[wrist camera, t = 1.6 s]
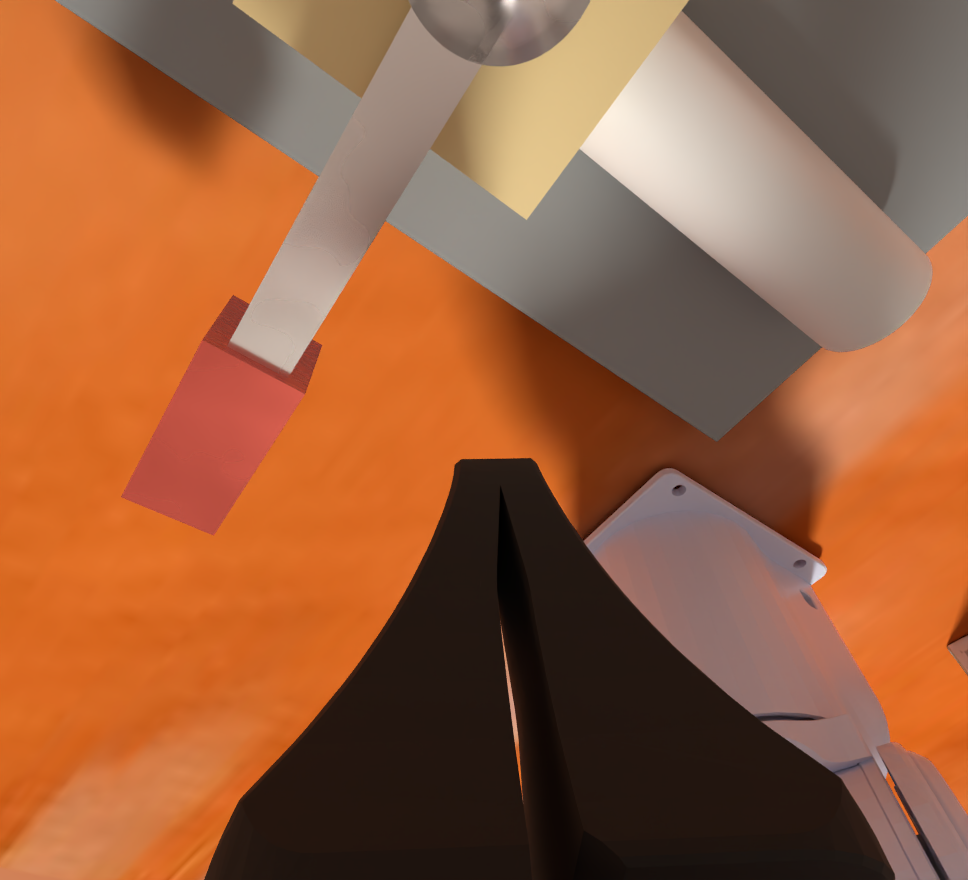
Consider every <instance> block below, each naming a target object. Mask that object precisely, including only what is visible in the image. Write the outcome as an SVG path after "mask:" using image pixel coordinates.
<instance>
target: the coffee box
mask: <svg viewBox="0 0 968 880" xmlns="http://www.w3.org/2000/svg"><path fill="white" fill-rule="evenodd" d="M947 649H948V650H949V652H950V653H951V654H952V655H953V657H954V658H955V659H956V660H957V662H958V663H959V664H960V666H961V667H962V669H963V670H964V671H965V673H966V674H967V675H968V635H967V636H965V637H963V638H961V639H959V640H957V641H955V642H953V643H952V644H950V645H948V646H947Z"/></svg>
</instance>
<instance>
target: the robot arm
mask: <svg viewBox="0 0 968 880" xmlns="http://www.w3.org/2000/svg"><path fill="white" fill-rule="evenodd" d="M678 485H682V486H681V487H680V488H678V489H673V488H674V487H676V486H678ZM826 571H827V567H826V566H825V564H824V563H823V561H822V560H820V559H819V558H817V557H816V556H814V555H812V554H811V553H809V552H808V551H806V550H804V549H803V548H801V547H800V546H798V545H796V544H795V543H793V542H792V541H790V540H788V539H787V538H785V537H783V536H782V535H780V534H779V533H777V532H775V531H774V530H772V529H771V528H769V527H767V526H766V525H764V524H763V523H761V522H759V521H758V520H756V519H755V518H753V517H751V516H750V515H748V514H747V513H745V512H743V511H742V510H740V509H739V508H737V507H735V506H734V505H732V504H731V503H729V502H727V501H726V500H724V499H722V498H721V497H719V496H718V495H716V494H714V493H713V492H711V491H710V490H708V489H706V488H705V487H703V486H702V485H700V484H698V483H697V482H695V481H694V480H692V479H690V478H689V477H687V476H686V475H684V474H682V473H681V472H679V471H678V470H676V469H673V468H666V469H663V470H661V471H659V472H658V473H656V474H655V475H654V476H653V477H652V478H651V479H650V480H649V481H648V482H647V483H646V484H644V485H643V486H642V487H641V488H640V489H639V490H638V491H637V492H636V493H635V494H634V495H633V496H631V497H630V498H629V499H628V500H627V501H626V502H625V503H624V504H623V505H622V506H621V507H620V508H619V509H617V510H616V511H615V512H614V513H613V514H612V515H611V516H610V517H609V518H608V519H607V520H606V521H604V522H603V523H602V524H601V525H600V526H599V527H598V528H597V529H596V530H595V531H594V532H593V533H591V534H590V535H589V536H588V537H587V538H586V539H585V540H584V541H583V540H582V539H581V537H580V536H579V534H578V533H577V531H576V530H575V528H574V527H573V526H572V524H571V523H570V521H569V520H568V518H567V517H566V515H565V513H564V512H563V510H562V509H561V507H560V505H559V504H558V502H557V500H556V499H555V497H554V496H553V494H552V492H551V490H550V489H549V487H548V485H547V483H546V481H545V479H544V478H543V476H542V474H541V472H540V470H539V467H538V465H537V463H536V462H535V461H533V460H532V459H531V458H518V459H461V460H460V461H459V462H458V463H456V464H455V467H454V476H453V481H452V485H451V489H450V492H449V496H448V499H447V502H446V505H445V507H444V510H443V513H442V516H441V518H440V520H439V523H438V525H437V528H436V530H435V533H434V535H433V537H432V540H431V542H430V544H429V547H428V549H427V551H426V553H425V555H424V557H423V559H422V561H421V563H420V565H419V567H418V569H417V570H416V572H415V574H414V576H413V578H412V580H411V582H410V584H409V586H408V588H407V589H406V591H405V593H404V595H403V596H402V598H401V600H400V602H399V603H398V605H397V607H396V608H395V610H394V612H393V613H392V615H391V616H390V618H389V619H388V621H387V623H386V624H385V626H384V627H383V629H382V630H381V632H380V633H379V635H378V636H377V638H376V639H375V641H374V642H373V643H372V645H371V646H370V648H369V649H368V651H367V652H366V654H365V655H364V656H363V658H362V659H361V661H360V662H359V663H358V665H357V666H356V668H355V669H354V670H353V672H352V673H351V674H350V676H349V677H348V678H347V679H346V681H345V682H344V683H343V685H342V686H341V687H340V688H339V689H338V691H337V692H336V693H335V694H334V696H333V697H332V698H331V699H330V700H329V702H328V703H327V704H326V705H325V706H324V708H323V709H322V710H321V711H320V713H319V714H318V715H317V716H316V717H315V719H314V720H313V721H312V722H311V723H310V725H309V726H308V727H307V728H306V729H305V731H304V732H303V733H302V734H301V735H300V736H299V737H298V738H297V740H296V741H295V742H294V743H293V744H292V745H291V746H290V747H289V748H288V749H287V750H286V751H285V752H284V753H283V754H282V756H281V757H280V758H279V759H278V760H277V761H276V762H275V763H274V764H273V765H272V766H271V767H270V768H269V769H268V770H267V771H266V772H265V773H264V775H263V776H262V777H261V778H260V779H259V780H258V781H257V782H256V783H255V784H254V785H253V786H252V787H251V788H250V789H249V790H248V791H247V792H246V793H245V794H244V795H243V797H242V798H241V799H240V800H239V802H238V804H237V806H236V808H235V810H234V812H233V814H232V816H231V818H230V820H229V822H228V824H227V826H226V828H225V830H224V832H223V835H222V837H221V839H220V841H219V844H218V846H217V848H216V851H215V853H214V855H213V858H212V860H211V863H210V866H209V869H208V871H207V874H206V876H205V879H204V880H968V815H967V814H966V812H965V811H964V809H963V807H962V806H961V804H960V803H959V801H958V800H957V798H956V797H955V795H954V794H953V792H952V790H951V789H950V787H949V786H948V784H947V783H946V782H945V780H944V779H943V777H942V776H941V774H940V773H939V771H938V770H937V769H936V767H935V766H934V765H933V764H932V762H931V761H930V760H928V759H927V758H925V757H923V756H921V755H918V754H916V753H914V752H912V751H906V750H905V749H904V748H903V747H902V745H900V744H898V743H896V742H890V736H889V730H888V725H887V721H886V717H885V714H884V712H883V709H882V707H881V705H880V703H879V701H878V699H877V697H876V696H875V694H874V692H873V691H872V689H871V687H870V685H869V684H868V682H867V680H866V679H865V677H864V675H863V674H862V672H861V670H860V669H859V667H858V665H857V663H856V662H855V660H854V658H853V657H852V655H851V653H850V652H849V650H848V648H847V647H846V645H845V643H844V641H843V640H842V638H841V636H840V635H839V633H838V631H837V630H836V628H835V626H834V625H833V623H832V621H831V619H830V618H829V616H828V614H827V613H826V611H825V609H824V608H823V606H822V604H821V603H820V601H819V599H818V597H817V596H816V594H815V592H814V591H813V589H812V587H811V586H810V585H812V584H813V583H815V582H816V581H818V580H819V579H820V578H822V577H823V576H824V575H825V574H826ZM500 621H501V623H500ZM501 627H502V633H503V639H504V645H505V652H506V658H507V664H508V670H509V676H510V682H511V688H512V694H513V700H514V706H515V713H516V721H517V729H518V737H519V751H520V765H521V779H522V793H523V800H522V793H521V785H520V778H519V771H518V764H517V757H516V750H515V742H514V735H513V727H512V719H511V711H510V702H509V694H508V686H507V678H506V669H505V660H504V651H503V642H502V633H501ZM887 772H889V774H890V776H891V778H892V780H893V782H894V784H895V785H896V786H894V788H895V790H896V792H897V794H898V796H899V798H900V800H901V802H902V804H903V805H904V807H905V809H906V811H907V813H908V815H909V817H910V819H911V820H912V822H913V824H914V826H915V828H916V830H917V832H918V833H919V834H918V835H916V834H915V833H914V831H913V829H912V827H911V825H910V823H909V821H908V820H907V818H906V816H905V814H904V812H903V810H902V809H901V807H900V805H899V803H898V801H897V799H896V798H895V796H894V794H893V792H892V790H891V788H890V786H889V785H888V783H887V781H886V779H885V778H886V775H887Z"/></svg>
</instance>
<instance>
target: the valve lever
mask: <svg viewBox="0 0 968 880" xmlns="http://www.w3.org/2000/svg"><path fill="white" fill-rule="evenodd" d="M408 1H409V3H410V5H411V8H410V10H409V12H408V14H407V16H406V18H405V20H404V21H403V23H402V25H401V27H400V29H399V31H398V32H397V34H396V36H395V38H394V40H393V42H392V43H391V45H390V47H389V49H388V51H387V53H386V55H385V56H384V58H383V60H382V62H381V64H380V66H379V67H378V69H377V71H376V73H375V75H374V77H373V78H372V80H371V82H370V84H369V86H368V88H367V89H366V91H365V93H364V95H363V97H362V99H361V101H360V102H359V104H358V106H357V108H356V110H355V112H354V113H353V115H352V117H351V119H350V121H349V123H348V124H347V126H346V128H345V130H344V132H343V134H342V135H341V137H340V139H339V141H338V143H337V145H336V147H335V148H334V150H333V152H332V154H331V156H330V158H329V159H328V161H327V163H326V165H325V167H324V169H323V170H322V172H321V174H320V176H319V178H318V180H317V181H316V183H315V185H314V187H313V189H312V191H311V193H310V194H309V196H308V198H307V200H306V202H305V204H304V205H303V207H302V209H301V211H300V213H299V215H298V216H297V218H296V220H295V222H294V224H293V226H292V228H291V229H290V231H289V233H288V235H287V237H286V239H285V240H284V242H283V244H282V246H281V248H280V250H279V251H278V253H277V255H276V257H275V259H274V261H273V262H272V264H271V266H270V268H269V270H268V272H267V274H266V275H265V277H264V279H263V281H262V283H261V285H260V286H259V288H258V290H257V292H256V294H255V296H254V297H253V299H252V301H251V303H250V304H248V303H246V302H244V301H243V300H241V299H239V298H237V297H235V296H234V295H233V296H232V297H231V299H230V300H229V302H228V303H227V305H226V306H225V308H224V309H223V311H222V312H221V314H220V315H219V316H218V318H217V319H216V321H215V322H214V324H213V325H212V327H211V328H210V330H209V331H208V332H207V334H206V335H205V337H204V338H203V340H202V342H201V343H200V345H199V347H198V349H197V351H196V353H195V355H194V357H193V359H192V361H191V363H190V365H189V367H188V369H187V371H186V373H185V374H184V376H183V378H182V380H181V382H180V384H179V386H178V388H177V390H176V392H175V394H174V396H173V398H172V400H171V402H170V403H169V405H168V407H167V409H166V411H165V413H164V415H163V417H162V419H161V421H160V423H159V425H158V427H157V429H156V431H155V432H154V434H153V436H152V438H151V440H150V442H149V444H148V446H147V448H146V450H145V452H144V454H143V456H142V458H141V460H140V461H139V463H138V465H137V467H136V469H135V471H134V473H133V475H132V477H131V479H130V481H129V483H128V485H127V487H126V489H125V491H124V492H123V494H122V496H121V497H122V498H125V499H127V500H130V501H132V502H134V503H137V504H139V505H142V506H144V507H146V508H149V509H151V510H154V511H156V512H158V513H161V514H163V515H166V516H168V517H170V518H173V519H175V520H178V521H180V522H183V523H185V524H187V525H190V526H192V527H195V528H197V529H199V530H202V531H204V532H207V533H209V534H211V535H214V534H215V532H216V531H217V529H218V528H219V526H220V525H221V523H222V522H223V520H224V519H225V517H226V515H227V514H228V512H229V511H230V509H231V508H232V506H233V505H234V503H235V502H236V500H237V498H238V497H239V495H240V494H241V492H242V491H243V489H244V488H245V486H246V485H247V483H248V481H249V480H250V478H251V477H252V475H253V474H254V472H255V471H256V469H257V468H258V466H259V464H260V463H261V461H262V460H263V458H264V457H265V455H266V454H267V452H268V451H269V449H270V447H271V446H272V444H273V443H274V441H275V440H276V438H277V437H278V435H279V433H280V432H281V430H282V429H283V427H284V426H285V424H286V423H287V421H288V420H289V418H290V416H291V415H292V413H293V412H294V410H295V409H296V407H297V406H298V404H299V403H300V401H301V399H302V398H303V396H304V395H305V393H306V390H307V387H308V384H309V381H310V378H311V375H312V373H313V370H314V367H315V364H316V361H317V358H318V356H319V353H320V350H321V347H322V345H321V344H319V343H317V342H315V341H314V340H312V338H313V337H314V335H315V333H316V332H317V330H318V329H319V327H320V325H321V324H322V322H323V321H324V319H325V317H326V316H327V314H328V312H329V311H330V309H331V308H332V306H333V304H334V303H335V301H336V300H337V298H338V296H339V295H340V293H341V292H342V290H343V288H344V287H345V285H346V283H347V282H348V280H349V279H350V277H351V275H352V274H353V272H354V271H355V269H356V267H357V266H358V264H359V262H360V261H361V259H362V258H363V256H364V254H365V253H366V251H367V250H368V248H369V246H370V245H371V243H372V241H373V240H374V238H375V237H376V235H377V233H378V232H379V230H380V229H381V227H382V225H383V224H384V222H385V221H386V219H387V217H388V216H389V214H390V212H391V211H392V209H393V208H394V206H395V204H396V203H397V201H398V200H399V198H400V196H401V195H402V193H403V191H404V190H405V188H406V187H407V185H408V183H409V182H410V180H411V179H412V177H413V175H414V174H415V172H416V170H417V169H418V167H419V166H420V164H421V162H422V161H423V159H424V158H425V156H426V154H427V153H428V151H429V150H430V148H431V146H432V145H433V143H434V141H435V140H436V138H437V137H438V135H439V133H440V132H441V130H442V129H443V127H444V125H445V124H446V122H447V120H448V119H449V117H450V116H451V114H452V112H453V111H454V109H455V108H456V106H457V104H458V103H459V101H460V100H461V98H462V96H463V95H464V93H465V91H466V90H467V88H468V87H469V85H470V83H471V82H472V80H473V79H474V77H475V75H476V74H477V72H478V70H479V69H480V67H481V66H482V65H486V66H501V67H503V66H511V65H517V64H521V63H524V62H528V61H530V60H532V59H535V58H537V57H539V56H541V55H542V54H544V53H546V52H547V51H549V50H551V49H552V48H553V47H554V46H556V45H557V44H558V43H559V42H561V41H562V40H563V39H564V38H565V37H566V36H567V35H568V34H569V32H570V31H571V30H572V29H573V28H574V26H575V25H576V24H577V22H578V21H579V20H580V18H581V17H582V15H583V13H584V12H585V10H586V8H587V7H588V5H589V3H590V0H408Z"/></svg>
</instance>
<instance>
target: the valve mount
mask: <svg viewBox="0 0 968 880" xmlns="http://www.w3.org/2000/svg"><path fill="white" fill-rule="evenodd" d="M55 1H57V2H58V3H60V4H61V5H63V6H64V7H66V8H67V9H69V10H70V11H72V12H73V13H75V14H76V15H78V16H79V17H81V18H82V19H84V20H85V21H87V22H88V23H90V24H91V25H93V26H94V27H96V28H97V29H99V30H100V31H102V32H103V33H105V34H106V35H108V36H109V37H111V38H112V39H114V40H115V41H117V42H118V43H120V44H121V45H123V46H124V47H126V48H127V49H129V50H130V51H132V52H133V53H135V54H136V55H138V56H139V57H141V58H142V59H144V60H145V61H147V62H148V63H150V64H151V65H153V66H154V67H156V68H157V69H159V70H160V71H162V72H163V73H165V74H166V75H168V76H169V77H171V78H172V79H174V80H175V81H177V82H178V83H180V84H181V85H183V86H184V87H186V88H187V89H189V90H190V91H192V92H193V93H195V94H196V95H198V96H199V97H201V98H202V99H204V100H205V101H207V102H208V103H210V104H211V105H213V106H214V107H216V108H217V109H219V110H220V111H222V112H223V113H225V114H226V115H228V116H229V117H231V118H232V119H234V120H235V121H237V122H238V123H240V124H241V125H243V126H244V127H246V128H247V129H249V130H250V131H252V132H253V133H255V134H256V135H258V136H259V137H261V138H262V139H264V140H265V141H267V142H268V143H270V144H271V145H273V146H274V147H276V148H277V149H279V150H280V151H282V152H283V153H285V154H286V155H288V156H289V157H291V158H292V159H294V160H295V161H297V162H298V163H300V164H301V165H303V166H304V167H306V168H307V169H309V170H310V171H312V172H313V173H315V174H316V175H318V176H320V174H321V172H322V170H323V169H324V167H325V165H326V163H327V161H328V159H329V158H330V156H331V154H332V152H333V150H334V148H335V147H336V145H337V143H338V141H339V139H340V137H341V135H342V134H343V132H344V130H345V128H346V126H347V124H348V123H349V121H350V119H351V117H352V115H353V113H354V112H355V110H356V108H357V106H358V104H359V102H360V101H361V99H362V97H363V95H364V93H365V91H366V89H367V88H368V86H369V84H370V82H371V80H372V78H373V77H374V75H375V73H376V71H377V69H378V67H379V66H380V64H381V62H382V60H383V58H384V56H385V55H386V53H387V51H388V49H389V47H390V45H391V43H392V42H393V40H394V38H395V36H396V34H397V32H398V31H399V29H400V27H401V25H402V23H403V21H404V20H405V18H406V16H407V14H408V12H409V10H410V8H411V5H410V3H409V1H408V0H55ZM967 216H968V0H590V3H589V5H588V7H587V8H586V10H585V12H584V13H583V15H582V17H581V18H580V20H579V21H578V22H577V24H576V25H575V26H574V28H573V29H572V30H571V31H570V32H569V34H568V35H567V36H566V37H565V38H564V39H563V40H562V41H561V42H559V43H558V44H557V45H556V46H554V47H553V48H552V49H551V50H549V51H547V52H546V53H544V54H542V55H541V56H539V57H537V58H535V59H532V60H530V61H528V62H524V63H521V64H517V65H511V66H503V67H501V66H486V65H482V66H481V67H480V69H479V70H478V72H477V74H476V75H475V77H474V79H473V80H472V82H471V83H470V85H469V87H468V88H467V90H466V91H465V93H464V95H463V96H462V98H461V100H460V101H459V103H458V104H457V106H456V108H455V109H454V111H453V112H452V114H451V116H450V117H449V119H448V120H447V122H446V124H445V125H444V127H443V129H442V130H441V132H440V133H439V135H438V137H437V138H436V140H435V141H434V143H433V145H432V146H431V148H430V150H429V151H428V153H427V154H426V156H425V158H424V159H423V161H422V162H421V164H420V166H419V167H418V169H417V170H416V172H415V174H414V175H413V177H412V179H411V180H410V182H409V183H408V185H407V187H406V188H405V190H404V191H403V193H402V195H401V196H400V198H399V200H398V201H397V203H396V204H395V206H394V208H393V209H392V211H391V212H390V214H389V216H388V217H387V219H386V222H388V223H389V224H391V225H392V226H394V227H395V228H397V229H398V230H400V231H401V232H403V233H404V234H406V235H407V236H409V237H410V238H412V239H413V240H415V241H416V242H418V243H419V244H421V245H422V246H424V247H425V248H427V249H428V250H430V251H431V252H433V253H434V254H436V255H437V256H439V257H440V258H442V259H443V260H445V261H446V262H448V263H449V264H451V265H452V266H454V267H455V268H457V269H458V270H460V271H461V272H463V273H464V274H466V275H467V276H469V277H470V278H472V279H473V280H475V281H476V282H478V283H479V284H481V285H482V286H484V287H485V288H487V289H488V290H490V291H491V292H493V293H494V294H496V295H497V296H499V297H500V298H502V299H503V300H505V301H506V302H508V303H509V304H511V305H512V306H514V307H515V308H517V309H518V310H520V311H521V312H523V313H524V314H526V315H527V316H529V317H530V318H532V319H533V320H535V321H536V322H538V323H539V324H541V325H542V326H544V327H545V328H547V329H548V330H550V331H551V332H553V333H554V334H556V335H557V336H559V337H560V338H562V339H563V340H565V341H566V342H568V343H569V344H571V345H572V346H574V347H575V348H577V349H578V350H580V351H581V352H583V353H584V354H586V355H587V356H589V357H590V358H592V359H593V360H595V361H596V362H598V363H599V364H601V365H602V366H604V367H605V368H607V369H608V370H610V371H611V372H613V373H614V374H616V375H617V376H619V377H620V378H622V379H623V380H625V381H626V382H628V383H629V384H631V385H632V386H634V387H635V388H637V389H638V390H640V391H641V392H643V393H644V394H646V395H647V396H649V397H650V398H652V399H653V400H655V401H656V402H658V403H659V404H661V405H662V406H664V407H665V408H667V409H668V410H670V411H671V412H673V413H674V414H676V415H677V416H679V417H680V418H682V419H683V420H685V421H686V422H688V423H689V424H691V425H692V426H694V427H695V428H697V429H698V430H700V431H701V432H703V433H704V434H706V435H707V436H709V437H710V438H712V439H713V440H715V441H716V442H717V441H718V440H720V439H721V438H722V437H723V436H724V435H725V434H726V433H727V432H728V431H730V430H731V429H732V428H733V427H734V426H735V425H736V424H737V423H738V422H739V421H741V420H742V419H743V418H744V417H745V416H746V415H747V414H748V413H749V412H751V411H752V410H753V409H754V408H755V407H756V406H757V405H758V404H759V403H761V402H762V401H763V400H764V399H765V398H766V397H767V396H768V395H769V394H771V393H772V392H773V391H774V390H775V389H776V388H777V387H778V386H779V385H781V384H782V383H783V382H784V381H785V380H786V379H787V378H788V377H789V376H790V375H792V374H793V373H794V372H795V371H796V370H797V369H798V368H799V367H800V366H802V365H803V364H804V363H805V362H806V361H807V360H808V359H809V358H810V357H812V356H813V355H814V354H815V353H816V352H817V351H818V350H819V349H820V348H822V347H823V348H824V349H826V350H830V351H835V352H848V351H854V350H858V349H862V348H864V347H867V346H870V345H872V344H874V343H876V342H878V341H880V340H882V339H884V338H885V337H887V336H888V335H890V334H891V333H893V332H894V331H895V330H897V329H898V328H899V327H900V326H902V325H903V324H904V323H905V322H906V321H907V320H908V319H909V318H910V317H911V316H912V315H913V314H914V313H915V311H916V310H917V309H918V307H919V306H920V305H921V303H922V302H923V300H924V298H925V297H926V294H927V292H928V290H929V288H930V285H931V281H932V265H931V262H930V260H929V258H928V256H927V255H926V253H927V252H928V251H929V250H930V249H931V248H932V247H933V246H935V245H936V244H937V243H938V242H939V241H940V240H941V239H942V238H943V237H945V236H946V235H947V234H948V233H949V232H950V231H951V230H952V229H953V228H955V227H956V226H957V225H958V224H959V223H960V222H961V221H962V220H963V219H965V218H966V217H967Z"/></svg>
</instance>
